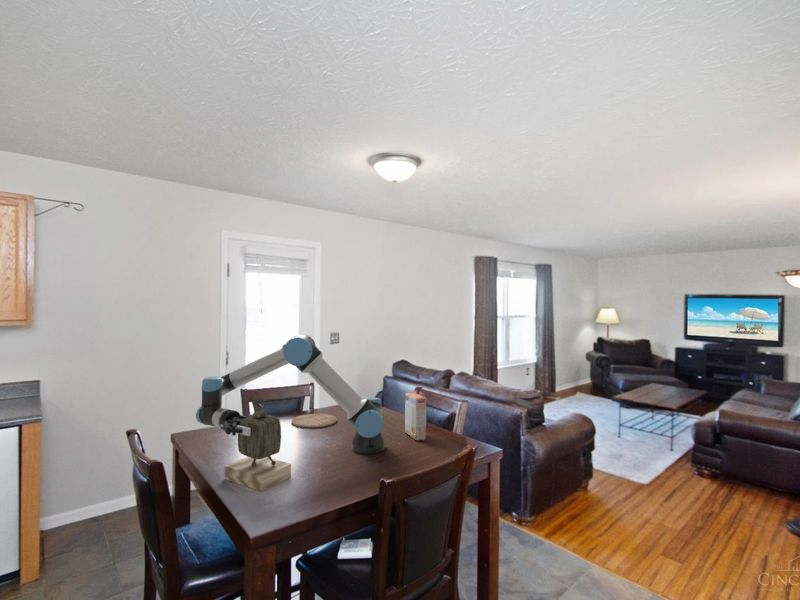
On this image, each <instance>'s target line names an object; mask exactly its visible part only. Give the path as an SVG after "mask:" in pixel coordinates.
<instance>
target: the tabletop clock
mask: <svg viewBox="0 0 800 600" xmlns="http://www.w3.org/2000/svg"><path fill="white" fill-rule="evenodd" d="M257 400H260V401H262V402H263V403H264V407H262V405H261V404H260V405H258V406H257V405H256V401H257ZM253 406H254V408H256V410H255V411H254V412H253V414H252V415H253V416H251V417H247V418H244V419H242V420H241V421H240V423H239V426H244V427H248V428H251V434H250V436H246V435H242V434H238V433H237V446H238V447H237V448H238V452H239V454H240V455H243V456H244V457H245V456H246V457H251V458H253V459H254V462H253V463H252V466H253V467H255V466H256V462H255V461H256V459H263V458H265V457H267V458H269V459H270V460H271V461H272V462H271V464H272V465H275V464H276V462H275V461H273V460H272V459H273V458H272V457H271V456H273V455H276V454H279V453H280V450H281V443H282V427H281V426H282V425H281V420H280V419H279V418H278V417H277V416H275V415H271V414H267V412H266V410H265V409H266V407H267V402H266V400H265V399H264V398H261V397H256V398H254V400H253Z"/></svg>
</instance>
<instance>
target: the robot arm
mask: <svg viewBox="0 0 800 600" xmlns="http://www.w3.org/2000/svg"><path fill="white" fill-rule="evenodd" d="M288 364H290V365H292V366H293V367H296V368H297V369H298V371H300V372H301V373H306V374H308V375H309V376H310V377H311V378H312V379H313V380H314V381H315V382H316V383H317V384H318V385H319V386H320V387H321V388H322V389H323V390H324V392H326V394H328V395H329V396H330V397H331V399H332V400H333V401H334V402H336V404H338V406H340V407H341V408H342V410H343V411H344V412H346V414H347V415H346V416H347V417H346V419H348V421H349V422H350V423H351V424H352V425H353V426H354V427H355V434H354V436H353V439H352V443H351V450H352V451H353V452H355V453H358V454H361V455H362V454H363V455H370V454H371V455H372V454H373V453H374V454H377V453H381V452H383V451H384V450H385V448H386V443H385V440H384V436H383V433H382V430H383V429H384V425H385V424H384V422H385V421H384V416H383V412H382V405H383V402H382V399H381V398H379V397H361V396H360V395H359V394H358V393H357V392H356V391H355V390H354V389H353V388H352V386H351V385H349V384H348V383H347V381H345V380H344V379H343V377H342V376H341V375H339V373H338V372H336V370H335V369H333V368H332V366H331V365H330V364H329V363H328V362H326V360H325V359H324V358H323V352H322V351H321V349H319V347H317V345H316V342H315V340H314V339H313V338H312V336H309V335H307V334H299V335H296V336H293V337H291V338H289V339H288V340H287V342H286V343H284V344H283V345H282V346H281V348H278V349H277V350H275V351H273V352H271V353H268V354H267V355H265V356H261V357H260V358H258V359H256V360H254V361H251V362H250V363H248V364H245V365H244V366H241V367H240V368H237V369H235V370H233V371H231V372H229V373H227V374H224V375H221V376H208V377H205V378H203V379H202V382H201V383H202V384H201V406H200V407H198V408H197V411H196V412H195V419H196V421H197V422H198V423H199V424H202V425H205V426H208V427H209V426H210V427H215V428H219V429H220V430H223V431H224V432H225V434H226V435H228V436H229V435H231V434H232V436H236V435H238V434H242V435H246V436H250V434H251V428H248V427H244V426H239V423H240V421H241V420H242V419H244V418H247V417H251V416H253V414H251V413H248V414H247V415H241V414H240V412H239V411H237V410H234V409H229V408H224V407H222V404H223V401H222V400H223V396H225V395H226V394H228V393H230V392H232V391H235V390H236V389H238V388H240V387H242V386H245V385H247V384H248V383H250V382H252V381H255V380H256V379H259V378H261V377H264V376H265V375H267V374H269V373H271V372H274V371H276V370H278V369H280V368H282V367H285V366H286V365H288ZM382 450H383V451H382ZM380 451H381V452H380ZM374 454H373V455H374Z"/></svg>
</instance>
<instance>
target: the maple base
mask: <svg viewBox="0 0 800 600" xmlns="http://www.w3.org/2000/svg"><path fill="white" fill-rule="evenodd" d="M272 460H273V461H275V462H276V464H275V465H272V464H271V462H272V461H271V460H270V459H269V458H268V457H265V458H263V459H256V461H255V462H256V466H255V467H253V466H252V463H253V462H254V459H253V458H251V457H248V456H246V457H243V458H240V459H239V460H235V461H234V462H231V463H227V464H226V465H224V468H223V469H224V470H223V471H224V475H223V476H224V477H223V479H224V480H225V479H227V480H226V481H228V480H230V481H229V482H231V481H233V482H232V483H234V482H236V483H235V484H237V483H238V485H240V484H241V485H240V486H243V485H244V487H246V486H247V487H246V488H249V487H250V489H252V488H253V489H252V490H255V489H256V490H257V491H259V492H263V491H266V490H268V489H270V488H272V487H274V486H276V485H278V484H280V483H282V482H284V481H286V480H288V479H290V478H291V477H292V463H290V462H286V461H281V460H278V459H275V458H274V459H273V458H272ZM256 490H255V491H256Z"/></svg>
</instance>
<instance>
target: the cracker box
mask: <svg viewBox="0 0 800 600" xmlns="http://www.w3.org/2000/svg"><path fill="white" fill-rule="evenodd" d="M404 395H405V399H404V401H405V403H404V404H405V405H404V407H405V408H404V411H405V415H404V421H405V422H404V434H405V433H407V434H408V435H410V436H411V437H412V438H414V439H415V440H419V439H426V440H427V397H425V396H423V395H420V394H418V393H417V392H406V393H405V394H404ZM407 434H406V435H407ZM408 435H407V436H408ZM411 437H410V438H411ZM412 438H411V439H412ZM414 439H413V440H414ZM415 440H414V441H415Z"/></svg>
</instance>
